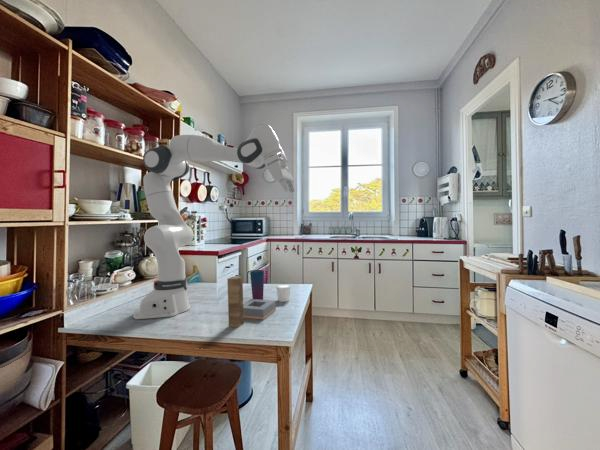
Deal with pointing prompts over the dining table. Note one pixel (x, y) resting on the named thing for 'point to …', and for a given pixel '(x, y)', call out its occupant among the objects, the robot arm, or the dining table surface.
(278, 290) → the shot glass
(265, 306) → the end cap
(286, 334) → the dining table surface
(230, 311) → the block
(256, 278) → the cup
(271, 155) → the robot arm
